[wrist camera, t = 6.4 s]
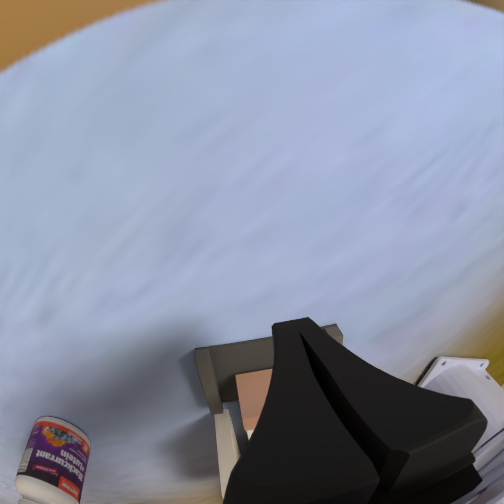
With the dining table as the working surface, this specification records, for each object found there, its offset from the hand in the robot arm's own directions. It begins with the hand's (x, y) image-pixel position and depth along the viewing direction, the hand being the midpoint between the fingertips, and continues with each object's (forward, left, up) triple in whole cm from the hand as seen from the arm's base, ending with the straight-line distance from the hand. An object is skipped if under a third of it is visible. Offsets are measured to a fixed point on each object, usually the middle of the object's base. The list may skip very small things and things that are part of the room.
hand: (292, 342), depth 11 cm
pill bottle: (+11, +20, -6) cm, 23 cm away
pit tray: (-3, +6, -6) cm, 9 cm away
